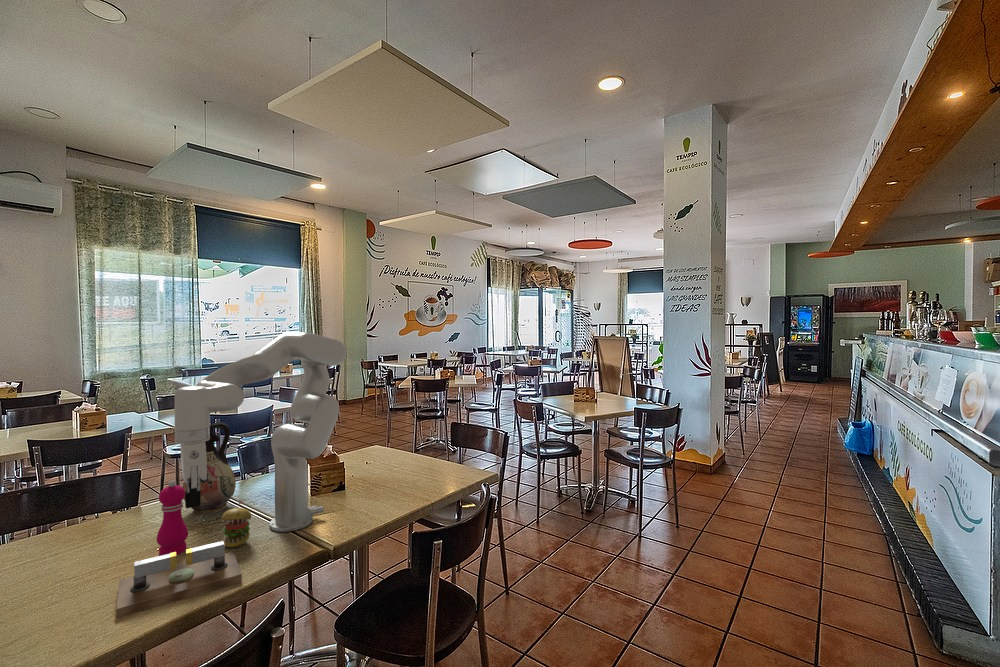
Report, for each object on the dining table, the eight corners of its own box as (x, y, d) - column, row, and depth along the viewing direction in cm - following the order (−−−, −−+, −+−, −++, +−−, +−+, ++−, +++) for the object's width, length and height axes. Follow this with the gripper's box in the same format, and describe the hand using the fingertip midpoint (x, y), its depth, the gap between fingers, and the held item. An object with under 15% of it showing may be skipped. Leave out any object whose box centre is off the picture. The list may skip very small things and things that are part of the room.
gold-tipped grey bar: (224, 561, 122) (224, 540, 121) (225, 565, 120) (225, 543, 119) (185, 571, 117) (185, 549, 116) (186, 575, 115) (186, 553, 115)
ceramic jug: (176, 522, 150) (175, 428, 149) (188, 504, 164) (188, 418, 163) (237, 515, 156) (236, 424, 155) (244, 498, 170) (243, 415, 170)
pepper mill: (172, 559, 127) (171, 486, 126) (150, 556, 129) (149, 484, 128) (194, 546, 134) (193, 477, 134) (173, 544, 136) (172, 475, 135)
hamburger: (216, 550, 132) (216, 508, 132) (227, 538, 139) (227, 498, 139) (246, 548, 133) (246, 506, 133) (255, 537, 140) (255, 497, 140)
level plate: (233, 558, 128) (233, 547, 128) (241, 582, 117) (241, 570, 117) (119, 588, 114) (119, 575, 113) (116, 618, 102) (116, 604, 102)
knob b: (133, 589, 109) (133, 566, 108) (133, 585, 111) (133, 561, 110) (176, 578, 114) (176, 555, 113) (176, 574, 115) (175, 551, 115)
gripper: (212, 439, 117) (213, 512, 117) (206, 427, 129) (207, 494, 129) (176, 443, 112) (176, 519, 113) (173, 431, 124) (173, 500, 125)
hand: (192, 506), depth 121 cm, fingers closed
